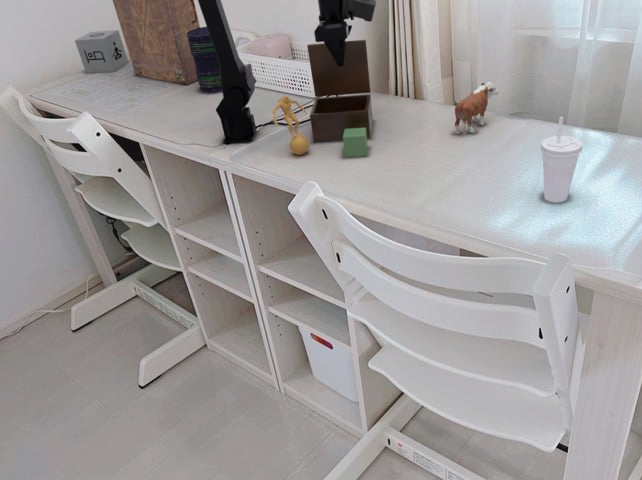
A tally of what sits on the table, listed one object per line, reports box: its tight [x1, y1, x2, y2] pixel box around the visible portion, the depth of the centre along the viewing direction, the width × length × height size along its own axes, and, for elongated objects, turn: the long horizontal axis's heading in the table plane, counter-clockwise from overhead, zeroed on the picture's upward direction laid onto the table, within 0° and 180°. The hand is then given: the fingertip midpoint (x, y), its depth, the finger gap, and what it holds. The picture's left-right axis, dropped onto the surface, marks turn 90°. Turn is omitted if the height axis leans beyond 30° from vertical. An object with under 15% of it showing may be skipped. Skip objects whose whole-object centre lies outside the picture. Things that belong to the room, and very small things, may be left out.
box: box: [309, 93, 374, 144], centre depth 134 cm, size 10×12×6 cm
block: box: [342, 128, 368, 159], centre depth 125 cm, size 4×4×4 cm
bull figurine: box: [454, 81, 499, 135], centre depth 128 cm, size 4×13×8 cm, turn 137°
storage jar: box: [187, 21, 223, 94], centre depth 165 cm, size 10×10×18 cm
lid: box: [306, 39, 371, 98], centre depth 132 cm, size 11×12×1 cm
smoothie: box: [540, 116, 584, 204], centre depth 99 cm, size 6×6×14 cm
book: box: [112, 0, 201, 85], centre depth 176 cm, size 25×9×30 cm, turn 52°
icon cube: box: [74, 29, 129, 74], centre depth 197 cm, size 10×10×10 cm
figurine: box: [272, 95, 310, 156], centre depth 125 cm, size 8×6×12 cm
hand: (341, 65), depth 128 cm, fingers closed
